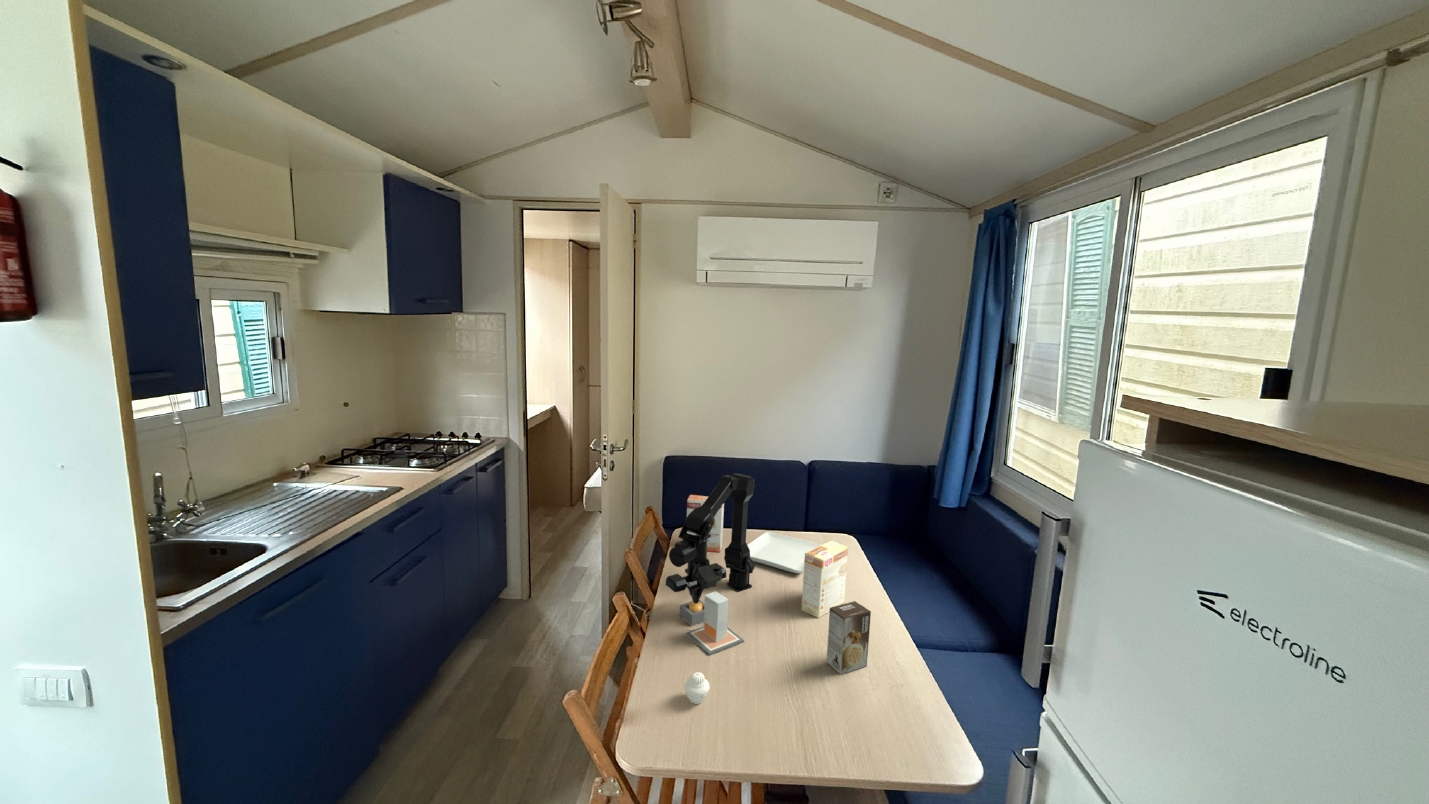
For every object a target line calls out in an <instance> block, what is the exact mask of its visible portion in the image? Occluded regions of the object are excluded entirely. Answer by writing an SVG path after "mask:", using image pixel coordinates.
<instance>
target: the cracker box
mask: <svg viewBox="0 0 1429 804" xmlns="http://www.w3.org/2000/svg"><path fill="white" fill-rule="evenodd" d="M708 497H709V495H708V496H706V495H705V496H704V495H697V494H690V495H689V496H688V498H687V502H686V517H687V516H688V515H689V514H690V513H691V512H692V511H693V510H694V509H696V508H698V507H700V506H702V505H703V503H704V502H705V501H706V499H707V498H708ZM724 512H725V502H724V503H723V505H722V506H721V508H720V509H719V510H718V512H717V513H716V515H715V517H714V525H713V527H712V529H711V531H710V533H709V534H710V535H711V537H710V538H708V539H707V552H712V553H720V552H721V550H722V548H723V536H724V535H723V533H724ZM687 533H688V534H692V535H695V533H691V532H688V531H687Z"/></svg>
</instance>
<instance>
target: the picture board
mask: <svg viewBox="0 0 1429 804" xmlns="http://www.w3.org/2000/svg"><path fill="white" fill-rule="evenodd" d="M703 630H704V625H703V626H701V627H698V628H695V629H693V630H689V631H686V632H685V635H686V636H687V638H689V639H690V640H691V641H692V642H694V643H695V644H696V645H697V646H698V647H699V648H701V649H702V650H703V651H704V652H705V654H707V655H708V656H712V655H715V654H718V653H719V652H720V653H721V652H722V650H723V651H725V650H727V649H730V648H733V647H735V646H737V645H738V646H739V645H740V643H741V644H743V643H745V640H744V639H743V638H742V637H741V636H740V635H739V634H737V633H736V632H734V631H733V630H732V629H731V628H729V627H728V626H727V638H725V639H723V640H720V641H718V642H715V641H714V640H713V639H711V638H710V637H709V636H707V635H706V634H704V633H703Z"/></svg>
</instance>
